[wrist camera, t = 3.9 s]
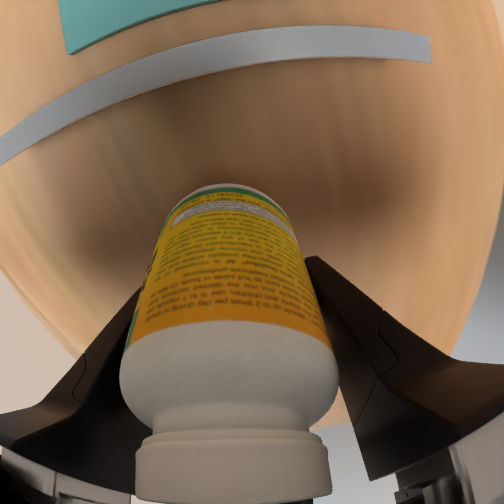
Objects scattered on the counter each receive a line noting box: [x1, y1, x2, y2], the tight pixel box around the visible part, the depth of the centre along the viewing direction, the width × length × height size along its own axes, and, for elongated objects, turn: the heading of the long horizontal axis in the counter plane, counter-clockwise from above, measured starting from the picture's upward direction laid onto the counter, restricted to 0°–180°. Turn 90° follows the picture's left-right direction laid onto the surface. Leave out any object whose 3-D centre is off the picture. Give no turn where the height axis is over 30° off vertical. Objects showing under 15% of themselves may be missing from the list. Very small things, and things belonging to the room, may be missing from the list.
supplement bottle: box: [119, 183, 339, 504], centre depth 8 cm, size 5×5×10 cm
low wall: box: [0, 25, 432, 166], centre depth 7 cm, size 1×16×3 cm, turn 100°
